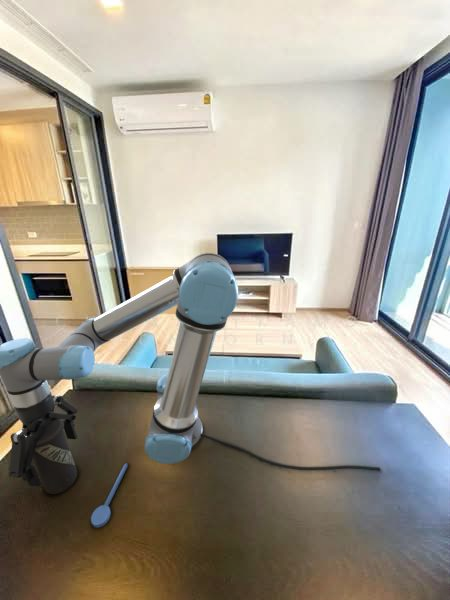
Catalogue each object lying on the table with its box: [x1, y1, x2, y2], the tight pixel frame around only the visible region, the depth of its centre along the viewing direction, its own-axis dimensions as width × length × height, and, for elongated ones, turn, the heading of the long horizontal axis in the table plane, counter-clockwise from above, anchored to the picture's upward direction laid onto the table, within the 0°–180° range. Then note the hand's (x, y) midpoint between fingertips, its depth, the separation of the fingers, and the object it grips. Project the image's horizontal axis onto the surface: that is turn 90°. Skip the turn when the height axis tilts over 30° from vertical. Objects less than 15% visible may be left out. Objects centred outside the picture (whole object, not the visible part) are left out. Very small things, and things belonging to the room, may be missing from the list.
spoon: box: [90, 463, 129, 528], centre depth 68 cm, size 16×4×1 cm, turn 173°
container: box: [31, 418, 78, 495], centre depth 68 cm, size 9×9×20 cm
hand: (55, 459), depth 69 cm, fingers open, 13 cm apart
